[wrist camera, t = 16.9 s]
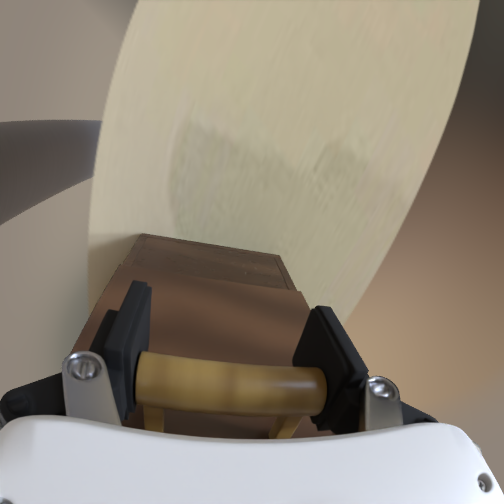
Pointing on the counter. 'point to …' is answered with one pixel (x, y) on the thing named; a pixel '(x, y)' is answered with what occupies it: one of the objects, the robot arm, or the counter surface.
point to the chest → (209, 262)
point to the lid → (218, 358)
